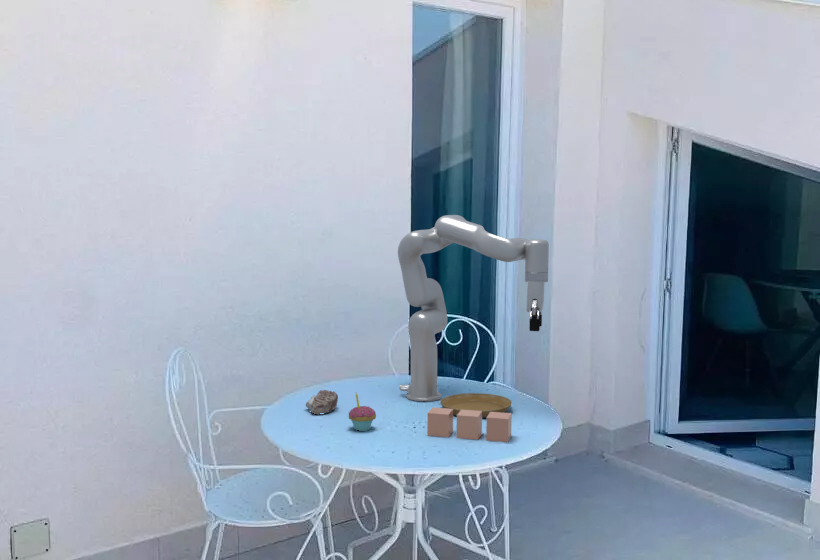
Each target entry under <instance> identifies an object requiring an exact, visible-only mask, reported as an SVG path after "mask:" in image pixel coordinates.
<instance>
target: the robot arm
mask: <svg viewBox="0 0 820 560" xmlns="http://www.w3.org/2000/svg"><path fill="white" fill-rule="evenodd" d="M451 244H457V245H460V246H462V247H466V248H468V249H472V250H474V251H475V252H477V253H479V254H481V255H484V256H486V257H489V258H491V259H494V260H498V261H501V262H504V263H514V262H519V261H524V264H525V265H524V282H526V283H527V288H526V289H527V290H526V291H527V293H526V294H527V295H526V312H527V313H529V312H530V313H529V314H530V316H529V331H530V332H540V330H541V329H540V328H541V327H542V325H543V314H542V312H543V309H544V302H545V283H549V250H550V249H549V241H547V240H546V239H541V238H538V239H535V238H534V239H533V238H532V239H531V238H530V239H528V238H527V239H526V238H520V237H514V238H505V237H501V236H498V235H495V234H493V233H490V232H488V231H486V230H485V228H484V226H482V225H481V224H477V223H476V222H475V223H474V222H472V221H468V220H466V218H464V217H463V216H462V215H459V214H448V215H447V214H446V215H442V216H441V217H438V219H437V220H436V221H435V224H434V227H431V228H430V229H419V230H413V231H410V232H408V233H407V234H406V235H404V237H402V239H401V240H400V242H399V245H398V248H397V259H398V261H399V266H400V270H401V275H402V281H403V287H404V292H405V296H406V300H407V302H408V304H409V305H410V306H412V307H415V308H419V307H421V309H420V310H418V311H416V312H415V313H413V314H412V315H411V316H410V318H409V320H408V323H407V325H408V326H407V328H408V334H409V335H408V336H409V341H410V343H409V344H410V383H409V384H399V388H398V389H399V390H400V391H401V392H407V393H406V396H405V397H406V399H408V400H409V401H413V400H414V402H423V401H425V402H434V401H439V400H441V399H442V393H441V392H439V391H438V344H437V340H436V334H438V333H441V332H443V331H444V330H445V329H446V327H447V325H448V313H447V308H446V302H445V298H444V293H443V290H442V286H441V285H440V283H439V282H438V281H437V280H435V279H434V278H431V277H430V278H429V277H427V276H428V275H427V270H426V267H425V263H424V262H423V259H422V257H421V256H422V255H426V254H432V253H436V252H439V251H441V250H442V249H444V248H446V247H448V246H449V245H451Z"/></svg>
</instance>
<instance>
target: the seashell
mask: <svg viewBox="0 0 820 560" xmlns="http://www.w3.org/2000/svg"><path fill="white" fill-rule="evenodd" d="M338 396H339V395H338V394H337V392H336V391H332V390H327V389H324V390H318V392H317V394H316V395H315V394H313V395H312V396H311V397H310V399H309V400H308V401H306V403H305V407H306V408H307V409H308V408H309V409H308V410H310V411H311V412H312V414H313V413H314V414H313V415H315V414H320V413H326V412H328V413H330V412H332V411H333V410H335V409H336V408H337V405H338V402H339V401H338V399H339V397H338ZM329 411H330V412H329ZM326 414H327V413H326Z"/></svg>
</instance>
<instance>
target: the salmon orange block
mask: <svg viewBox="0 0 820 560" xmlns="http://www.w3.org/2000/svg"><path fill="white" fill-rule="evenodd" d="M512 420H513V419H512V412H504V413H501V412H490V413H489V414H488V416H487V417H486V424H485V425H486V434H485V438H486V440H485V441H487V442H500V443H509V441H510V440H511V437H512Z"/></svg>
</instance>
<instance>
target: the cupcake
mask: <svg viewBox="0 0 820 560" xmlns="http://www.w3.org/2000/svg"><path fill="white" fill-rule="evenodd" d="M355 399H356V400H355V401H356V407H353V408H352V409H350V410H349V412H348V419H349V420H350V421H351V422H352V425H353V428H354V430H355V429H356V430H355V431H357V430H359V431H358V432H367V431H369V430H370V429H371V425H372V423H373V421H374V420H376V418H377V412H376V411H375V410H374V409H373V408H372V407H370V406H368V405H367V406H366V405H360V400H359V395H358V393H357V392H355ZM366 430H367V431H366Z"/></svg>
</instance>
